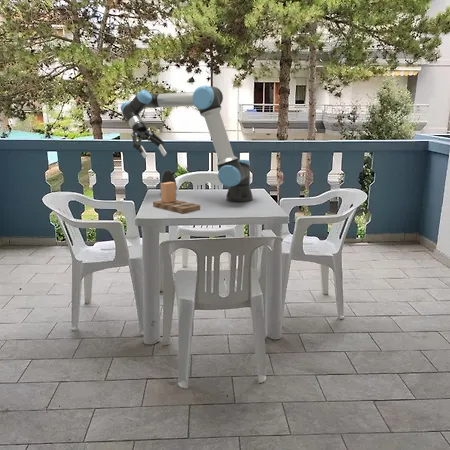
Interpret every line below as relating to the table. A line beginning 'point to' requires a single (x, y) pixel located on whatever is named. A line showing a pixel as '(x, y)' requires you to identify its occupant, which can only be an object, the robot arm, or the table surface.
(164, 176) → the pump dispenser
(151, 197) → the table surface
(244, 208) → the table surface
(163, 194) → the fader knob
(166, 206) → the fader board
